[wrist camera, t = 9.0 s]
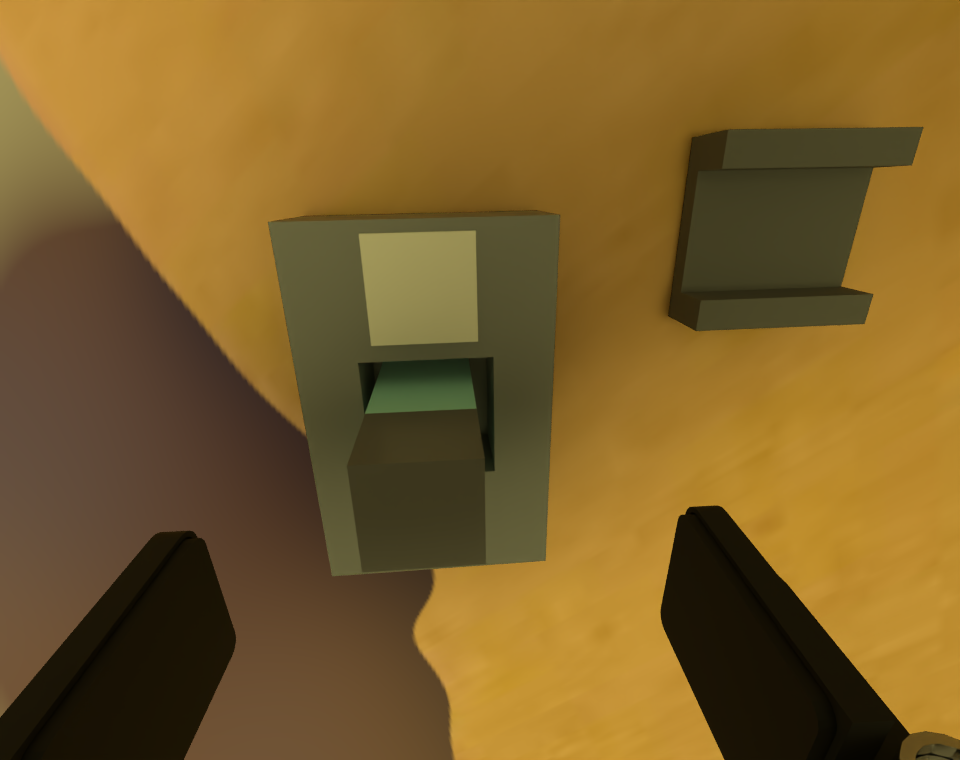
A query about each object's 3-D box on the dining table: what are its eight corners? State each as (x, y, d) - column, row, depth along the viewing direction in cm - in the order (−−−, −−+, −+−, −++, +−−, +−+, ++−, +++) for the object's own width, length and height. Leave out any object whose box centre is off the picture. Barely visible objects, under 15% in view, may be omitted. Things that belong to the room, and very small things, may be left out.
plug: (383, 360, 19) (346, 466, 12) (468, 357, 19) (484, 458, 12) (390, 435, 20) (362, 572, 13) (470, 431, 21) (485, 563, 13)
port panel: (304, 216, 18) (265, 222, 14) (536, 210, 18) (561, 215, 14) (349, 514, 23) (331, 579, 19) (529, 503, 24) (546, 564, 20)
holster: (692, 137, 18) (728, 129, 16) (864, 134, 18) (923, 127, 16) (668, 315, 20) (696, 330, 18) (819, 309, 21) (864, 324, 19)
